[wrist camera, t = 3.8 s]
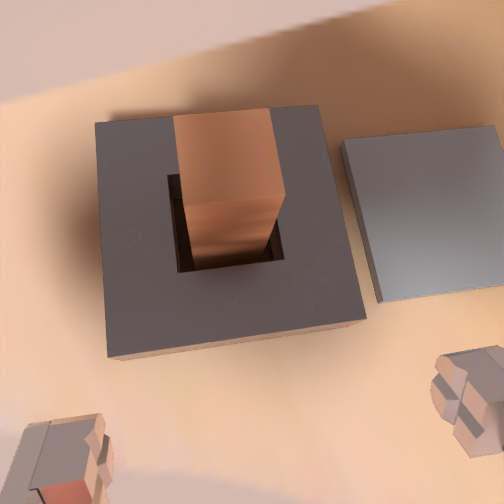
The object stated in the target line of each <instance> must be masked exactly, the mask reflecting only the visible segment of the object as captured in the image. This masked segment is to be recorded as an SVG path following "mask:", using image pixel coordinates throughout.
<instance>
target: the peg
mask: <svg viewBox="0 0 504 504" xmlns="http://www.w3.org/2000/svg"><path fill="white" fill-rule="evenodd" d="M173 120H174V128H175V137H176V145H177V154H178V163H179V171H180V180H181V188H182V197H183V205H184V211H185V216H186V222H187V227H188V233H189V238H190V244H191V249H192V255H193V260H194V266H195V271H199V270H207V269H215V268H223V267H230V266H238V265H246V264H254V263H260V261H261V258H262V255H263V253H264V250H265V247H266V245H267V242H268V240H269V237H270V234H271V232H272V229H273V226H274V224H275V221H276V218H277V216H278V213H279V211H280V208H281V205H282V203H283V200H284V197H285V195H286V194H285V189H284V183H283V178H282V173H281V168H280V163H279V157H278V152H277V147H276V142H275V137H274V132H273V126H272V121H271V116H270V111H269V108H262V109H249V110H237V111H224V112H212V113H199V114H187V115H174V116H173Z"/></svg>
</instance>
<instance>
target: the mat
mask: <svg viewBox="0 0 504 504" xmlns="http://www.w3.org/2000/svg"><path fill="white" fill-rule="evenodd" d="M340 149H341V153H342V157H343V161H344V165H345V169H346V174H347V178H348V182H349V186H350V190H351V194H352V198H353V202H354V207H355V211H356V215H357V219H358V223H359V227H360V231H361V235H362V240H363V244H364V248H365V252H366V256H367V260H368V264H369V269H370V273H371V277H372V281H373V285H374V289H375V293H376V297H377V302H378V303H385V302H392V301H398V300H405V299H412V298H419V297H426V296H433V295H440V294H447V293H453V292H460V291H467V290H474V289H481V288H488V287H495V286H502V285H504V152H503V149H502V146H501V144H500V141H499V138H498V136H497V133H496V130H495V127H494V125H493V126H483V127H472V128H461V129H450V130H439V131H428V132H417V133H406V134H395V135H385V136H374V137H363V138H352V139H344V140H343V141H342V143H341V145H340Z"/></svg>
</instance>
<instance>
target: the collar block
mask: <svg viewBox="0 0 504 504" xmlns="http://www.w3.org/2000/svg"><path fill="white" fill-rule="evenodd" d="M269 111H270V116H271V121H272V126H273V132H274V137H275V142H276V147H277V152H278V157H279V163H280V168H281V173H282V178H283V183H284V189H285V194H286V195H285V197H284V200H283V203H282V205H281V208H280V211H279V213H278V216H277V218H276V221H275V224H274V226H273V229H272V232H271V234H270V243H271V248H272V254H273V260H274V261H270V262H262V263H255V264H247V265H239V266H231V267H223V268H215V269H208V270H200V271H192V272H184V273H181V270H180V261H179V252H178V243H177V234H176V224H175V215H174V206H173V199H181V198H183V197H182V188H181V180H180V171H179V163H178V154H177V145H176V137H175V128H174V120H173V117H160V118H148V119H135V120H123V121H110V122H98V123H95V136H96V154H97V173H98V191H99V209H100V228H101V246H102V264H103V283H104V301H105V319H106V337H107V356H108V358H111V359H116V360H121V361H124V360H130V359H137V358H143V357H150V356H157V355H163V354H170V353H176V352H183V351H190V350H196V349H203V348H209V347H216V346H223V345H229V344H236V343H242V342H249V341H256V340H262V339H269V338H275V337H282V336H289V335H295V334H302V333H308V332H315V331H322V330H328V329H335V328H341V327H348V326H350V325H353V324H355V323H358V322H360V321H363V320H365V319H367V317H366V313H365V309H364V304H363V300H362V296H361V292H360V287H359V283H358V279H357V274H356V270H355V266H354V261H353V257H352V253H351V248H350V244H349V240H348V236H347V231H346V227H345V223H344V218H343V214H342V210H341V205H340V201H339V197H338V192H337V188H336V184H335V180H334V175H333V171H332V167H331V162H330V158H329V154H328V149H327V145H326V141H325V136H324V132H323V128H322V124H321V119H320V115H319V111H318V106H317V105H310V106H297V107H285V108H272V109H269Z"/></svg>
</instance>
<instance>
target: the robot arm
mask: <svg viewBox="0 0 504 504" xmlns="http://www.w3.org/2000/svg"><path fill="white" fill-rule="evenodd" d="M435 368H436V369H437V371H438V372H439V373H438V374H437V376H436V377H435V378H434V379H433V380H432V383H431V390H430V391H431V396H432V401H433V404H434V406H435V408H436V410H437V412H438V413H439V415H440V416H441V418H442V419H444V420H446V421H447V422H449V423H451V424H452V425H453V435H454V436H455V437H456V439H457V440H458V442H459V443H460V444H461V446H462V447H463V449H464V450H465V451H466V453H467V454H468V456H469V457H470V458H474V457H480V456H486V455H492V454H497V453H503V452H504V348H502V347H500V346H498V345H495V346H490V347H484V348H478V349H472V350H466V351H461V352H455V353H450V354H444V355H440V356H439V357H438V359H437V360H436V364H435ZM104 430H105V421H104V419H103V416H102V414H100V413H97V414H91V415H84V416H77V417H70V418H63V419H56V420H51V421H44V422H38V423H31V424H29V425H28V426H27V427H26V428H25V430H24V431H23V434H22V436H21V439H20V442H19V444H18V447H17V450H16V453H15V455H14V458H13V461H12V463H11V466H10V469H9V471H8V474H7V477H6V479H5V482H4V485H3V487H2V490H1V493H0V504H109V498H108V495H107V492H106V489H107V487H108V486H109V485H110V483H111V482H112V478H113V470H114V454H113V448H112V443H111V440H110V437H108V436H107V435H105V434H104Z"/></svg>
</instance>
